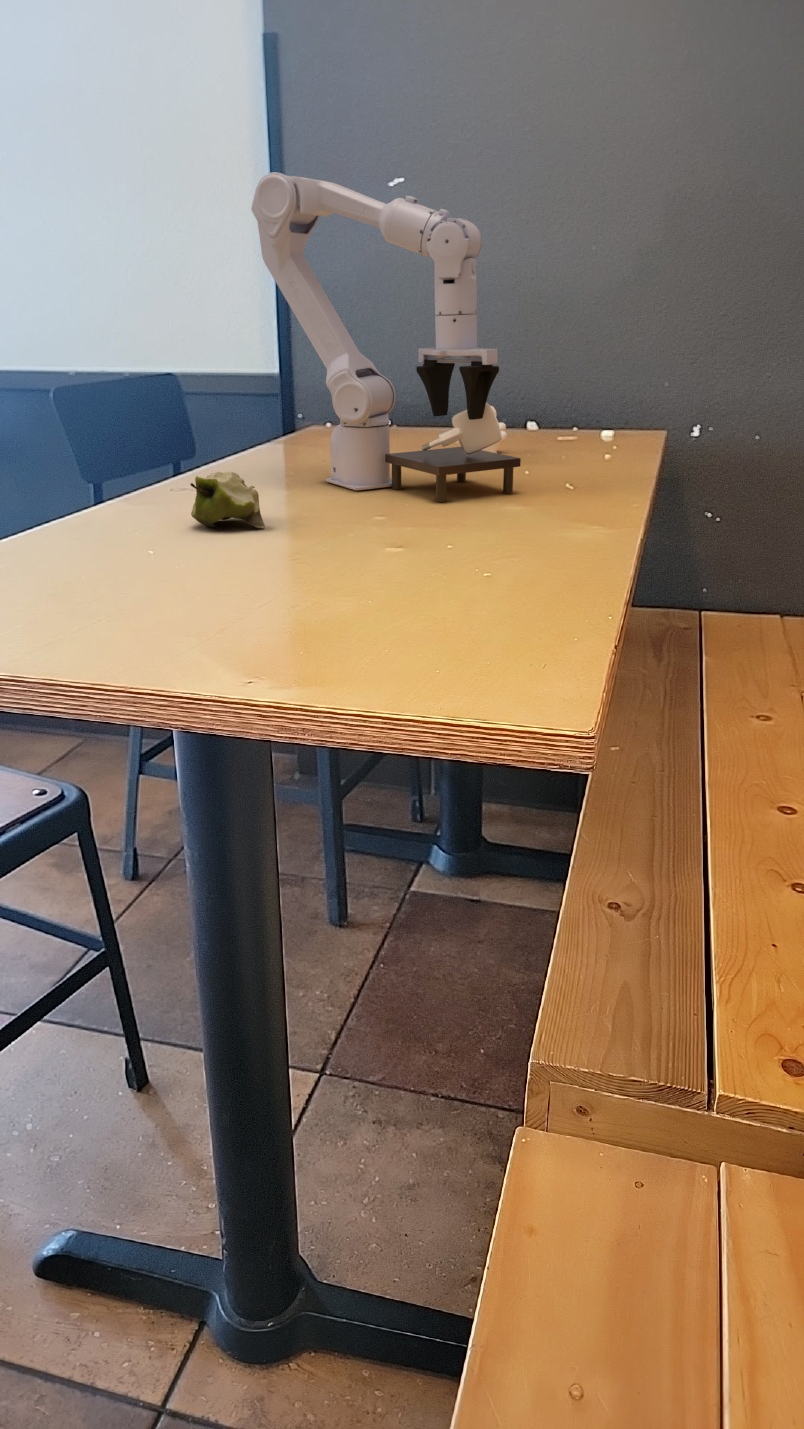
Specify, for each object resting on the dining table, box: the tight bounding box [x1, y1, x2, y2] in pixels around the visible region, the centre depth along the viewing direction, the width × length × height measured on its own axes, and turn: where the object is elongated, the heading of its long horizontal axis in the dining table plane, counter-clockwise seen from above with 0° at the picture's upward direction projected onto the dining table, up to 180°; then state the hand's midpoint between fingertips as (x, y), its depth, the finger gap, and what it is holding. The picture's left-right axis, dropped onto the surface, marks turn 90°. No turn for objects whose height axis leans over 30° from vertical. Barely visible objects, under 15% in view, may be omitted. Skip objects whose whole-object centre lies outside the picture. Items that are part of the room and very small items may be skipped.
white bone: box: [454, 405, 508, 453], centre depth 182 cm, size 15×9×8 cm, turn 176°
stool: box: [385, 446, 522, 503], centre depth 154 cm, size 14×14×5 cm
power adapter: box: [421, 401, 502, 454], centre depth 151 cm, size 11×5×6 cm, turn 90°
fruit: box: [190, 471, 266, 530], centre depth 132 cm, size 9×9×8 cm
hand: (457, 417), depth 150 cm, fingers open, 7 cm apart
